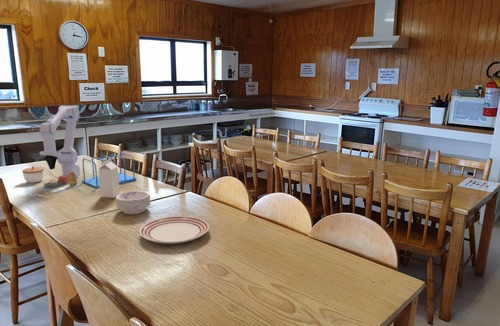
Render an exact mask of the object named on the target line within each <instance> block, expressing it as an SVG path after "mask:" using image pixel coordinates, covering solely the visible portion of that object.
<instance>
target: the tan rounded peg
mask: <svg viewBox="0 0 500 326" xmlns="http://www.w3.org/2000/svg"><path fill="white" fill-rule="evenodd" d="M69 180H70V185H71V186H74V185H77V183H78V182H77V178H76V174H75V172H73V171H72V172H70V174H69Z"/></svg>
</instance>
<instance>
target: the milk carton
mask: <svg viewBox="0 0 500 326" xmlns="http://www.w3.org/2000/svg"><path fill="white" fill-rule="evenodd" d="M104 161H105V160H104ZM97 173H98V177H99V184H100V188H99V193H100V198H109V199H111V198H116V196H117V195H119V194H120V184H119V180H118V173H119V168H118V166H117V165H115V164H114V161H113V160H112V161H111V159H110V158H108V160H106V161H105V162H103V164H102V163H101V166H100V167H99V168H98V170H97Z"/></svg>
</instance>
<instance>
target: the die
mask: <svg viewBox="0 0 500 326" xmlns="http://www.w3.org/2000/svg"><path fill="white" fill-rule="evenodd" d="M57 179H58V181H61V182H63V183H64V184H67V183H69V182H70V180H69V175H60V176H58V177H57Z"/></svg>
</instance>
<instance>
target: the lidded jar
mask: <svg viewBox="0 0 500 326" xmlns="http://www.w3.org/2000/svg"><path fill="white" fill-rule="evenodd" d="M44 170H45V168H44V167H41V166H40V167H39V166H33V165H32V166H31V167H28V168H24V169H22V175H23V178H24V180H25V181H26V182H27V183H28V184H33V183H39V182H41V181H42V180H43V179H44V176H45V174H44V173H45V171H44Z"/></svg>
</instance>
